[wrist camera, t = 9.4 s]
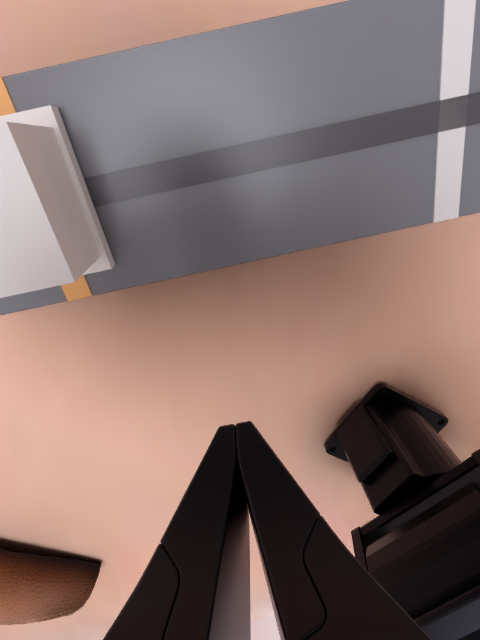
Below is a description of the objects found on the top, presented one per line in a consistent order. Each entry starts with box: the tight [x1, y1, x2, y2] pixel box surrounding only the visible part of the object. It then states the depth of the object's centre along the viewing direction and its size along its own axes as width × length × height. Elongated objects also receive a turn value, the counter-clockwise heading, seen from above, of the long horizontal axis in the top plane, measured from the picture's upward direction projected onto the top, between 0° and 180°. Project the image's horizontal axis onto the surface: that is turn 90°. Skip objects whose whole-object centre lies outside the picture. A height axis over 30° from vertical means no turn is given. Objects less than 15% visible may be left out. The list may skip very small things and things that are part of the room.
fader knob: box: [0, 105, 115, 298], centre depth 13 cm, size 4×6×4 cm
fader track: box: [0, 0, 480, 315], centre depth 16 cm, size 28×9×2 cm, turn 101°
